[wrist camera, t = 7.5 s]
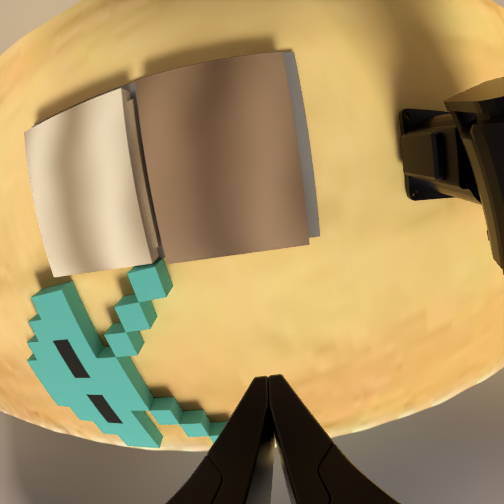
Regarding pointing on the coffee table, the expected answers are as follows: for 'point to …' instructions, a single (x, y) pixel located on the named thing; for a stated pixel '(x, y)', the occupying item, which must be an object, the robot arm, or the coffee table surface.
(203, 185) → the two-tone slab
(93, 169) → the beige rectangular slab
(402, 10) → the coffee table surface
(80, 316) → the alien figure
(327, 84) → the coffee table surface
